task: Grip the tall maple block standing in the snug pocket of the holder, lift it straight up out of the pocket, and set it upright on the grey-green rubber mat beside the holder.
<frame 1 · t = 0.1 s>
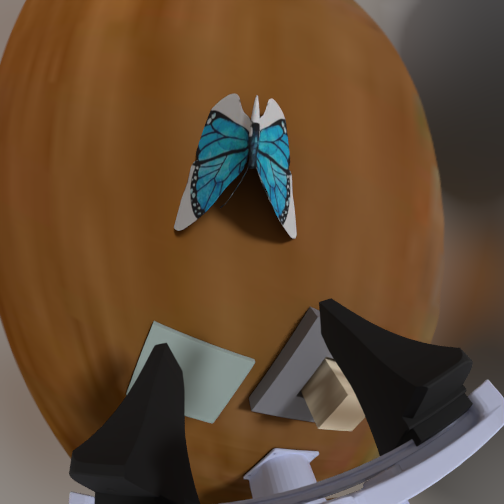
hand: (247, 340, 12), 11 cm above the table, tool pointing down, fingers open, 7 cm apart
maple block: (336, 391, 23), in the pocket holder
rubber mat: (186, 379, 24), on the table
pocket holder: (323, 371, 27), on the table
decorative butterfly: (242, 166, 21), on the table
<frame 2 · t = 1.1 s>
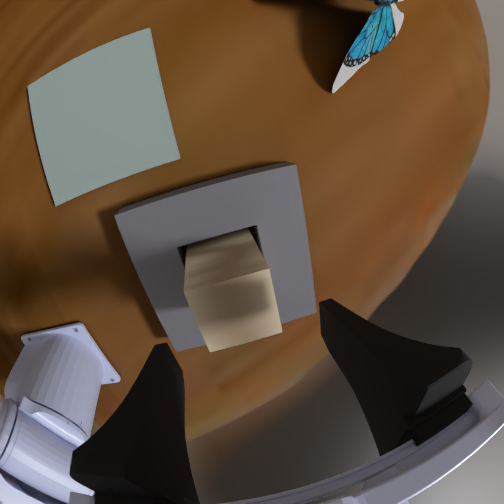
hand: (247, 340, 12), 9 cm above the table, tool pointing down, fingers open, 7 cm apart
maple block: (229, 281, 17), in the pocket holder
rubber mat: (95, 115, 14), on the table
pocket holder: (224, 259, 21), on the table
decorative butterfly: (341, 22, 15), on the table
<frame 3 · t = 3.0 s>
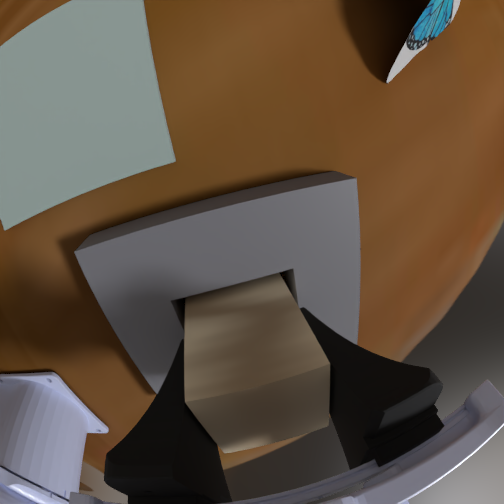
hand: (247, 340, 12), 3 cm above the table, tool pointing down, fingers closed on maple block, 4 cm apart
maple block: (250, 353, 11), in the pocket holder, touching gripper
rubber mat: (53, 97, 8), on the table
pocket holder: (238, 307, 14), on the table
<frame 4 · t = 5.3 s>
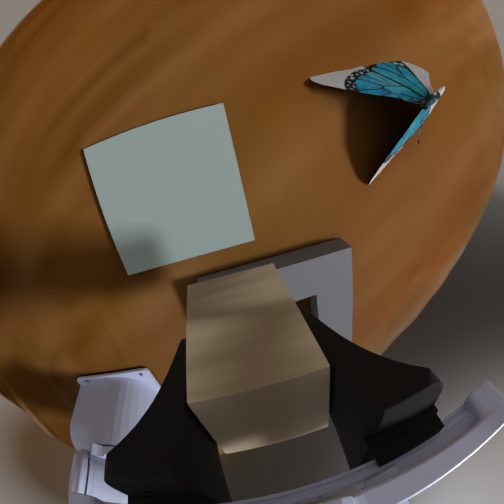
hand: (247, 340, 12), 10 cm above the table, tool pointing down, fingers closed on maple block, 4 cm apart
maple block: (251, 354, 11), point 10 cm above the table, touching gripper
rubber mat: (168, 192, 18), on the table
pocket holder: (282, 315, 24), on the table
decorative butterfly: (382, 106, 19), on the table
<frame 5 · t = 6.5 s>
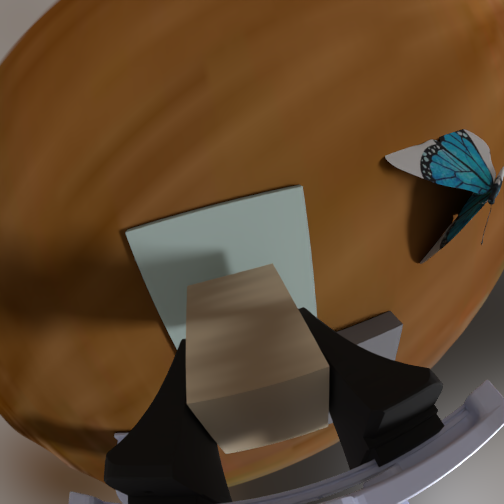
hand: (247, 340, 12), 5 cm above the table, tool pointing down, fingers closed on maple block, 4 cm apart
maple block: (251, 355, 11), point 6 cm above the table, touching gripper
rubber mat: (232, 282, 17), on the table
pocket holder: (328, 378, 23), on the table
decorative butterfly: (441, 180, 17), on the table
when the fingers open (5 cm above the table, at t = 7.5 s): maple block drops 1 cm, resting on rubber mat.
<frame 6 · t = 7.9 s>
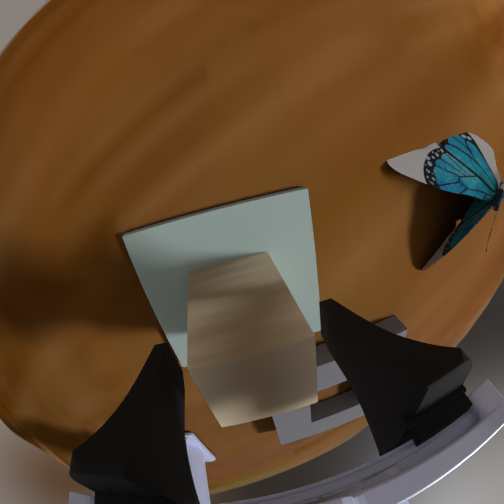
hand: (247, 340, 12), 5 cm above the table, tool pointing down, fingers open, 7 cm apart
maple block: (246, 334, 13), on the rubber mat
rubber mat: (234, 288, 16), on the table
pocket holder: (331, 383, 22), on the table
decorative butterfly: (444, 184, 17), on the table
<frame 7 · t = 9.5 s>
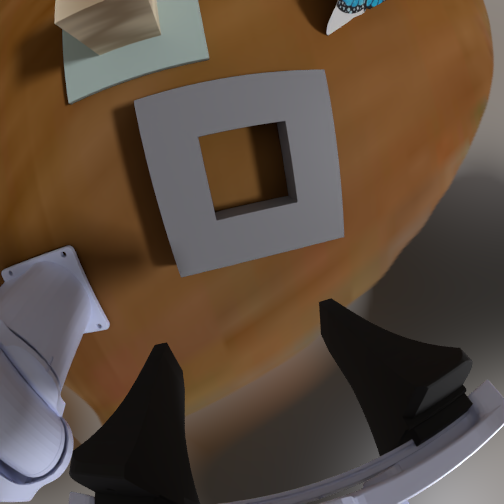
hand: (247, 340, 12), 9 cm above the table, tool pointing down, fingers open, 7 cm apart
maple block: (113, 0, 8), on the rubber mat
rubber mat: (127, 21, 12), on the table
pocket holder: (245, 166, 18), on the table
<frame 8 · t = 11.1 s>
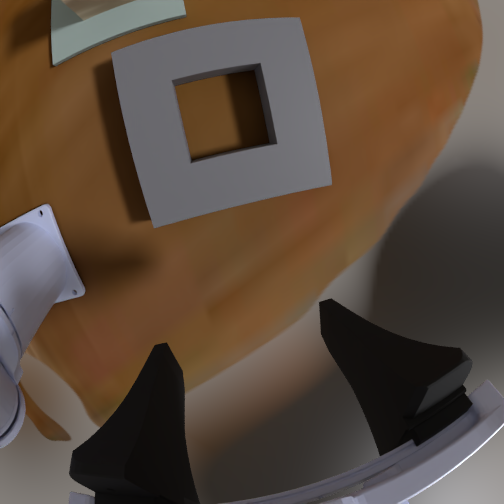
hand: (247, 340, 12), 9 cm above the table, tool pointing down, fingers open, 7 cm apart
pocket holder: (222, 113, 16), on the table
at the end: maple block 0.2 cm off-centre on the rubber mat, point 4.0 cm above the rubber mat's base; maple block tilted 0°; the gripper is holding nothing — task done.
